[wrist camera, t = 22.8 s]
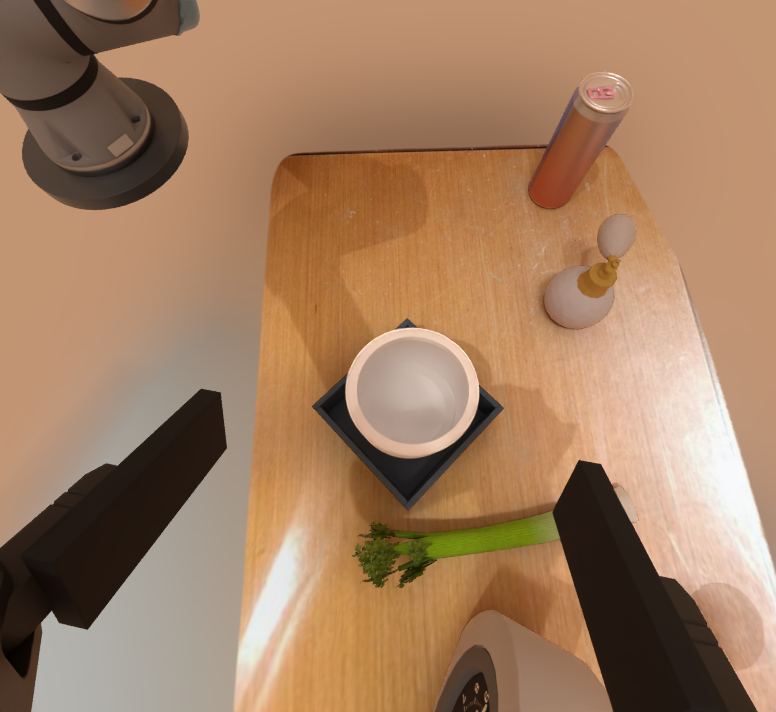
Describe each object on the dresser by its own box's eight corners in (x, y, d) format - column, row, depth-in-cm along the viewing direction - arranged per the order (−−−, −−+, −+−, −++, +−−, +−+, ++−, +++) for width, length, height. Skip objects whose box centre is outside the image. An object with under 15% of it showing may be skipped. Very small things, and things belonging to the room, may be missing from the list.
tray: (321, 413, 44) (311, 406, 38) (405, 335, 47) (407, 317, 41) (405, 505, 41) (408, 510, 35) (490, 415, 43) (504, 408, 38)
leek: (622, 535, 41) (358, 596, 38) (596, 472, 44) (348, 522, 40) (662, 536, 36) (356, 607, 32) (629, 464, 39) (345, 521, 35)
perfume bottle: (542, 338, 46) (592, 296, 35) (527, 270, 49) (569, 210, 38) (600, 334, 46) (670, 290, 35) (582, 266, 49) (641, 205, 38)
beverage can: (523, 177, 53) (572, 71, 39) (564, 175, 53) (627, 68, 39) (531, 212, 52) (584, 114, 37) (573, 209, 52) (642, 110, 37)
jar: (368, 467, 41) (355, 468, 27) (354, 379, 44) (336, 338, 30) (460, 450, 42) (495, 442, 27) (440, 364, 45) (463, 316, 30)
